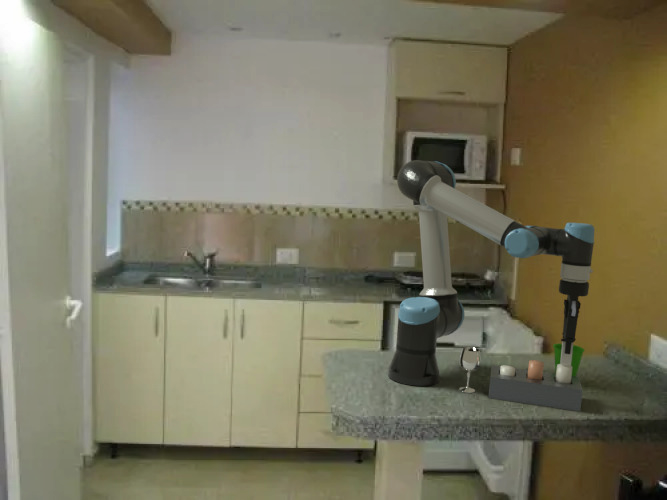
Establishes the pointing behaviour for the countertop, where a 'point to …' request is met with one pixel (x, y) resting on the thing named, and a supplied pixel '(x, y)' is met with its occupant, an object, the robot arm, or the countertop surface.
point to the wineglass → (469, 364)
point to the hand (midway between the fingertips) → (565, 364)
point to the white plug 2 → (563, 374)
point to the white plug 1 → (507, 370)
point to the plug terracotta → (535, 369)
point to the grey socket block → (535, 389)
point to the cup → (575, 357)
